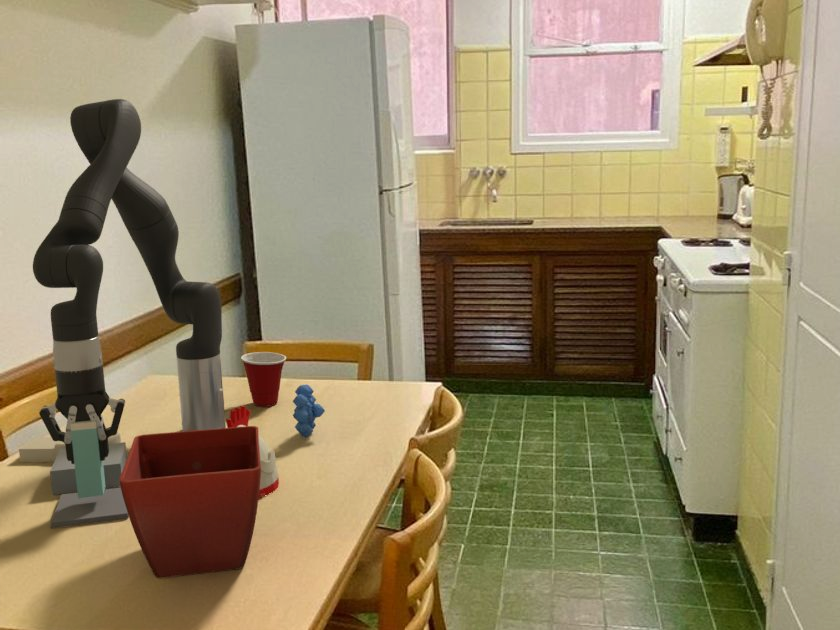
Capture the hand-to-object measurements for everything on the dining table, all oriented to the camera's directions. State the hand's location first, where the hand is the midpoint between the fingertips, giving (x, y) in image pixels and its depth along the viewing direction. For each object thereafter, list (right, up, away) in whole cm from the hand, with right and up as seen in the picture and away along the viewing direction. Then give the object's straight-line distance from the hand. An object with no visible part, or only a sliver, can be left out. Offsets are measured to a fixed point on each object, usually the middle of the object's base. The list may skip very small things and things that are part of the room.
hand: (88, 460), depth 142 cm
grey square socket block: (-6, -6, +15) cm, 18 cm away
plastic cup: (+19, +3, +61) cm, 64 cm away
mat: (0, -9, +2) cm, 9 cm away
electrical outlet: (-15, -4, +28) cm, 32 cm away
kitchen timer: (+24, -7, +10) cm, 27 cm away
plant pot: (+24, -12, -16) cm, 31 cm away
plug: (0, -6, +1) cm, 6 cm away
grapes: (+33, -1, +36) cm, 49 cm away
